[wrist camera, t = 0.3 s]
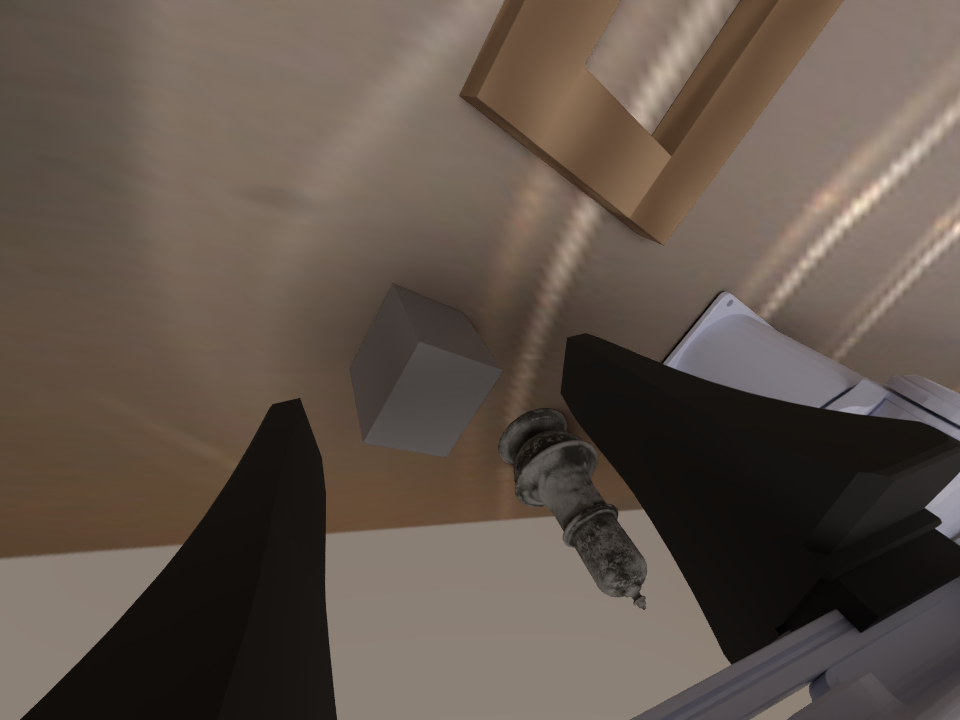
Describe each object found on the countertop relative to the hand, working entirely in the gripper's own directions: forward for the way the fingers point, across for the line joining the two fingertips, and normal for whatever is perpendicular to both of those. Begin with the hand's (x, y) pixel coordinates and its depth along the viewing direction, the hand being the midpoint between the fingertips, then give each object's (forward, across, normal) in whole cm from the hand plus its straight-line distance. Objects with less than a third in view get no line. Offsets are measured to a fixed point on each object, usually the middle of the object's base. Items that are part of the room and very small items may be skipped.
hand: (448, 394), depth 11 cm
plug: (+10, 0, +4) cm, 10 cm away
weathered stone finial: (+10, -8, +14) cm, 19 cm away
